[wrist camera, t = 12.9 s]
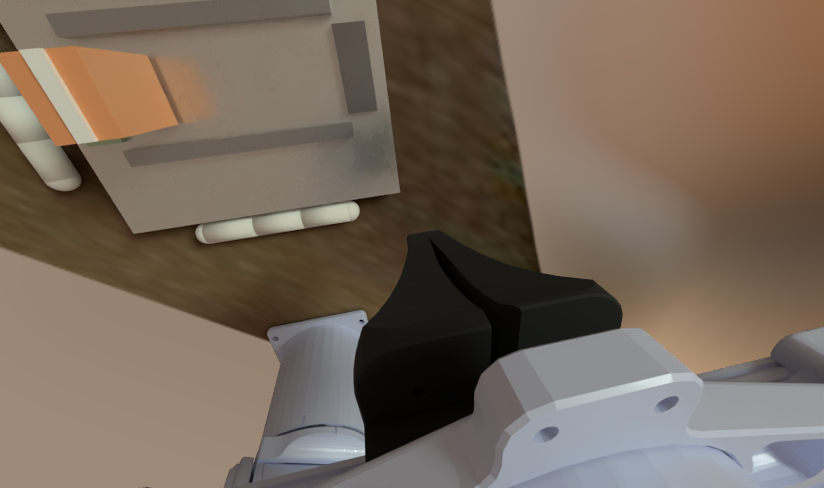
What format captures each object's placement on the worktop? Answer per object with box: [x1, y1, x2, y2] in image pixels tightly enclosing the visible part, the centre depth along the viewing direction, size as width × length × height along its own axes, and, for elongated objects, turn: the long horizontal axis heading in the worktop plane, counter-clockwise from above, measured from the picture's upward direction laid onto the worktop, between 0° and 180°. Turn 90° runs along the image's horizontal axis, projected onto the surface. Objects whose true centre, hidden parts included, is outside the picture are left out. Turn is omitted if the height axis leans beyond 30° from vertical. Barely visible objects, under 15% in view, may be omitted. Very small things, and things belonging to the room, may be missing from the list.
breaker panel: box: [0, 0, 400, 234], centre depth 15 cm, size 14×16×2 cm
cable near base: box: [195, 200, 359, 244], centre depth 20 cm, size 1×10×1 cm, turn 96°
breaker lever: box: [0, 46, 178, 146], centre depth 12 cm, size 3×2×4 cm
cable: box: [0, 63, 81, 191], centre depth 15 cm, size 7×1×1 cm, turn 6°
